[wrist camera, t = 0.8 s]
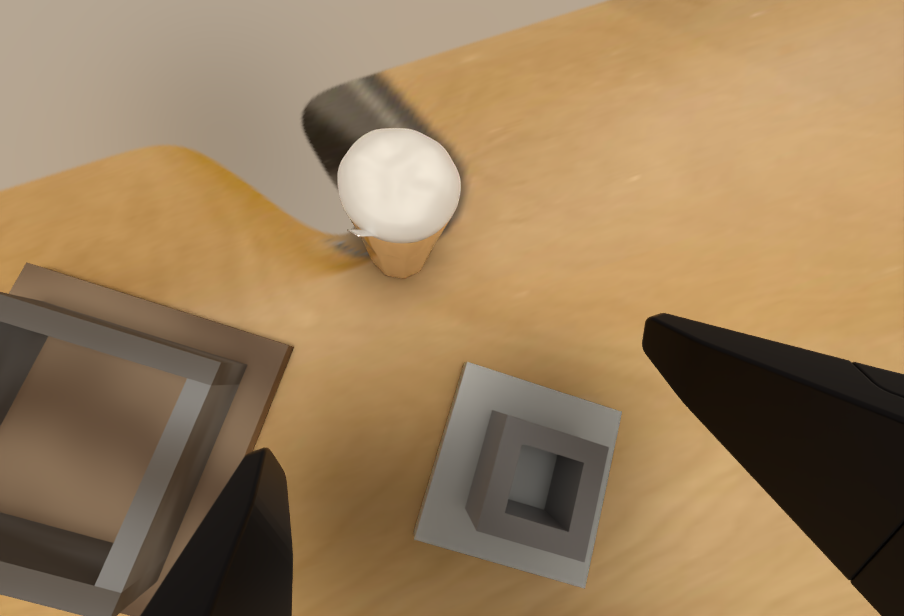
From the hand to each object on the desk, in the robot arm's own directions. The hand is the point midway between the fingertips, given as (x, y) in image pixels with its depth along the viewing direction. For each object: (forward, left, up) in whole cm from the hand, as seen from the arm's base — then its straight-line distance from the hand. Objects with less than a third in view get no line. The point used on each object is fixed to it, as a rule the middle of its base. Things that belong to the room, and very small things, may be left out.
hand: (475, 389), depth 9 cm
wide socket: (-7, +14, -13) cm, 20 cm away
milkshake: (+6, +4, -13) cm, 15 cm away
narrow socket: (-3, -6, -13) cm, 15 cm away
